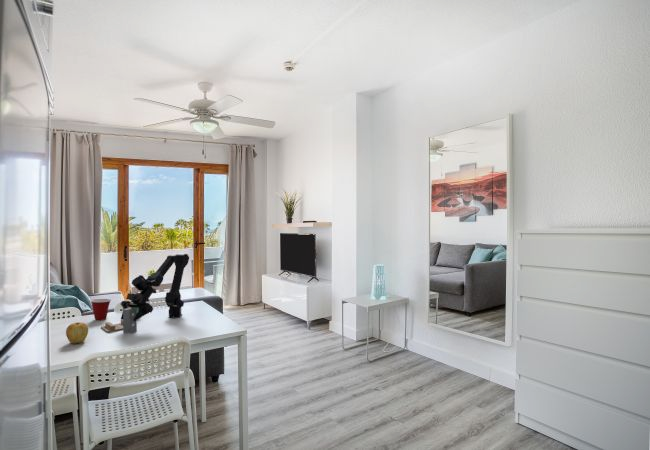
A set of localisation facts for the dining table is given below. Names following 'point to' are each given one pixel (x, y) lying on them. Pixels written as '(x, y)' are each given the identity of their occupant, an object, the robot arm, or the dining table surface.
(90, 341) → the dining table surface
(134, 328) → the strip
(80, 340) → the apple
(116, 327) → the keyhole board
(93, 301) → the plastic cup
